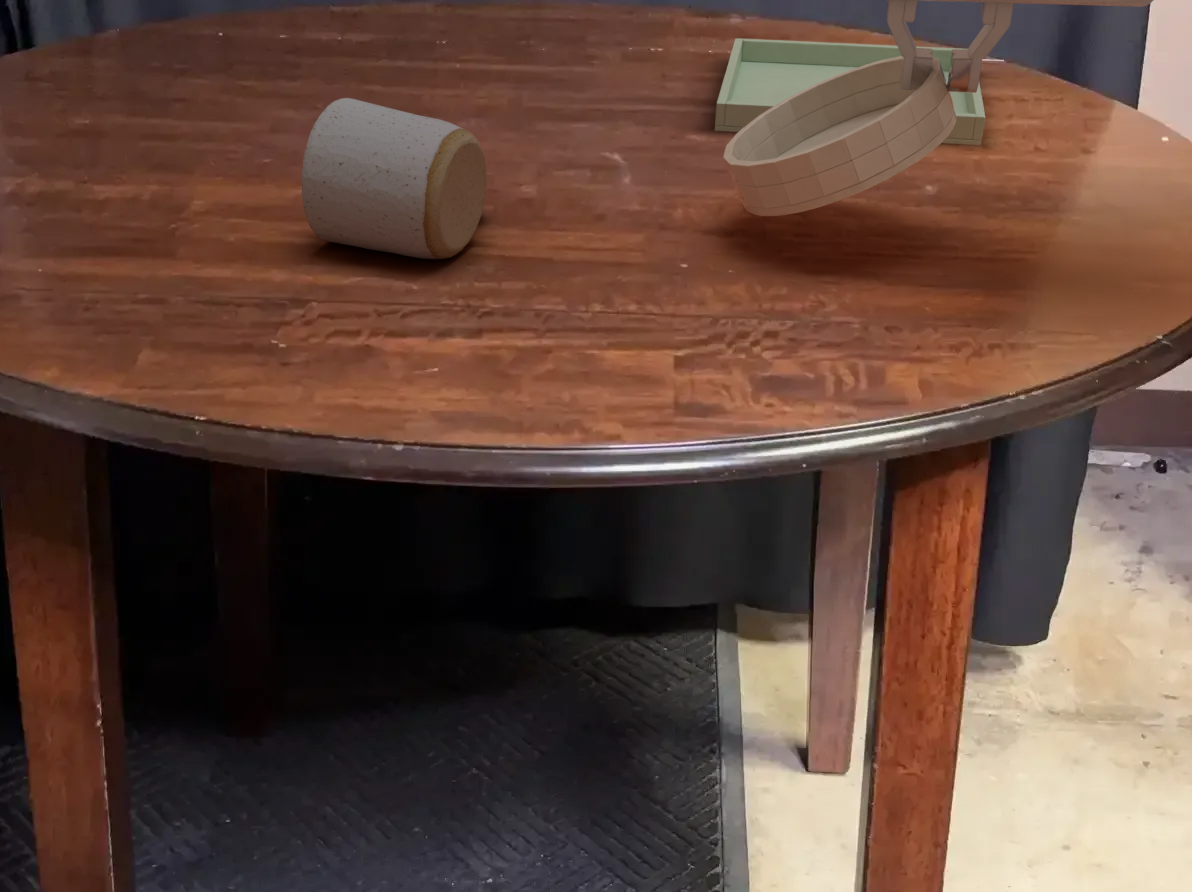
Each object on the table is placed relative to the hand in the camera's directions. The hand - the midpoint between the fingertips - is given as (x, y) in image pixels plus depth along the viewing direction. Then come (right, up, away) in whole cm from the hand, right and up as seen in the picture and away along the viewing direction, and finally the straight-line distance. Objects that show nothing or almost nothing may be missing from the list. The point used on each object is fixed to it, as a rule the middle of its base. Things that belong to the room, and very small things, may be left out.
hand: (937, 88), depth 79 cm
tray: (+1, +8, +26) cm, 28 cm away
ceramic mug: (-28, -6, +6) cm, 30 cm away
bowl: (-4, -3, +3) cm, 6 cm away
